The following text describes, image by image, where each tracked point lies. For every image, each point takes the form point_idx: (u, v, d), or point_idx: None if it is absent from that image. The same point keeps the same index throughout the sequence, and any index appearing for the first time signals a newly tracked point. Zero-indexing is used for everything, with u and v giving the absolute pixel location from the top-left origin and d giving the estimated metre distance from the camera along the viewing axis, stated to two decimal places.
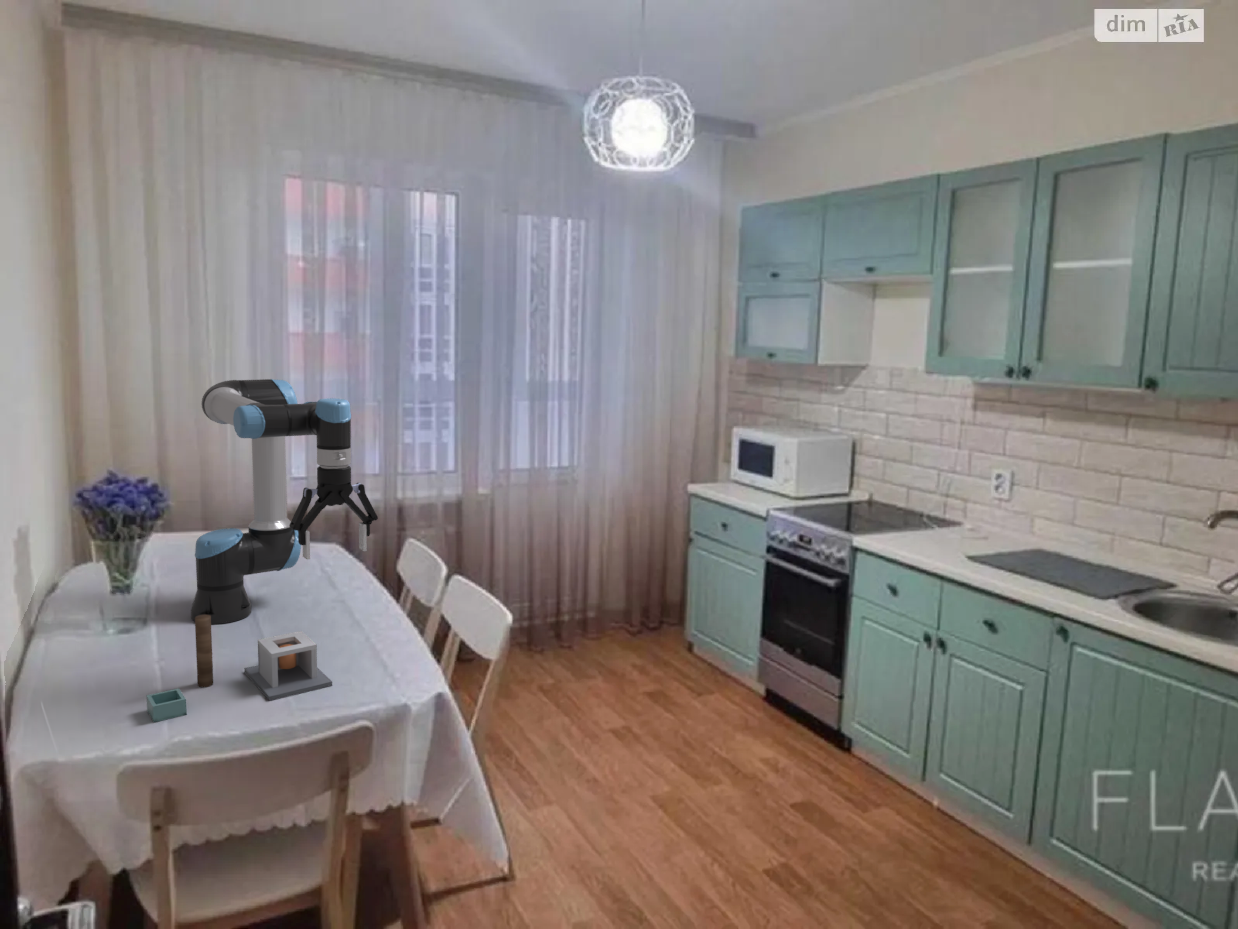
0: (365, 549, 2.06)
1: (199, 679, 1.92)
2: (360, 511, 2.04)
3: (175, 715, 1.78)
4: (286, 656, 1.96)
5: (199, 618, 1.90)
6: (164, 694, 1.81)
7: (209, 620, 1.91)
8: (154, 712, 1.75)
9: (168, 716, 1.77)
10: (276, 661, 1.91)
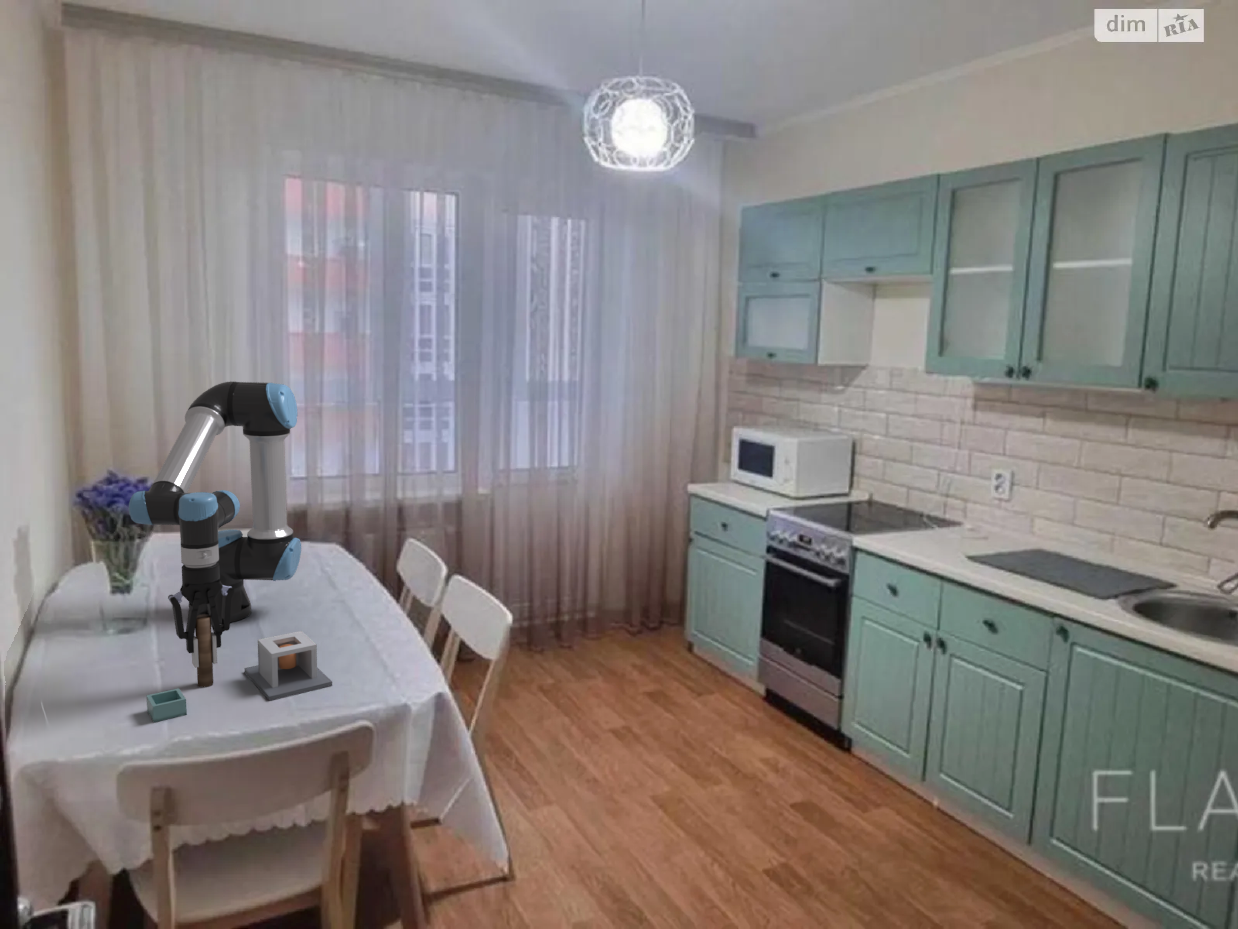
0: (215, 661, 1.93)
1: (199, 679, 1.92)
2: (216, 618, 1.92)
3: (175, 715, 1.78)
4: (286, 656, 1.96)
5: (199, 618, 1.90)
6: (164, 694, 1.81)
7: (209, 620, 1.91)
8: (154, 712, 1.75)
9: (168, 716, 1.77)
10: (276, 661, 1.91)
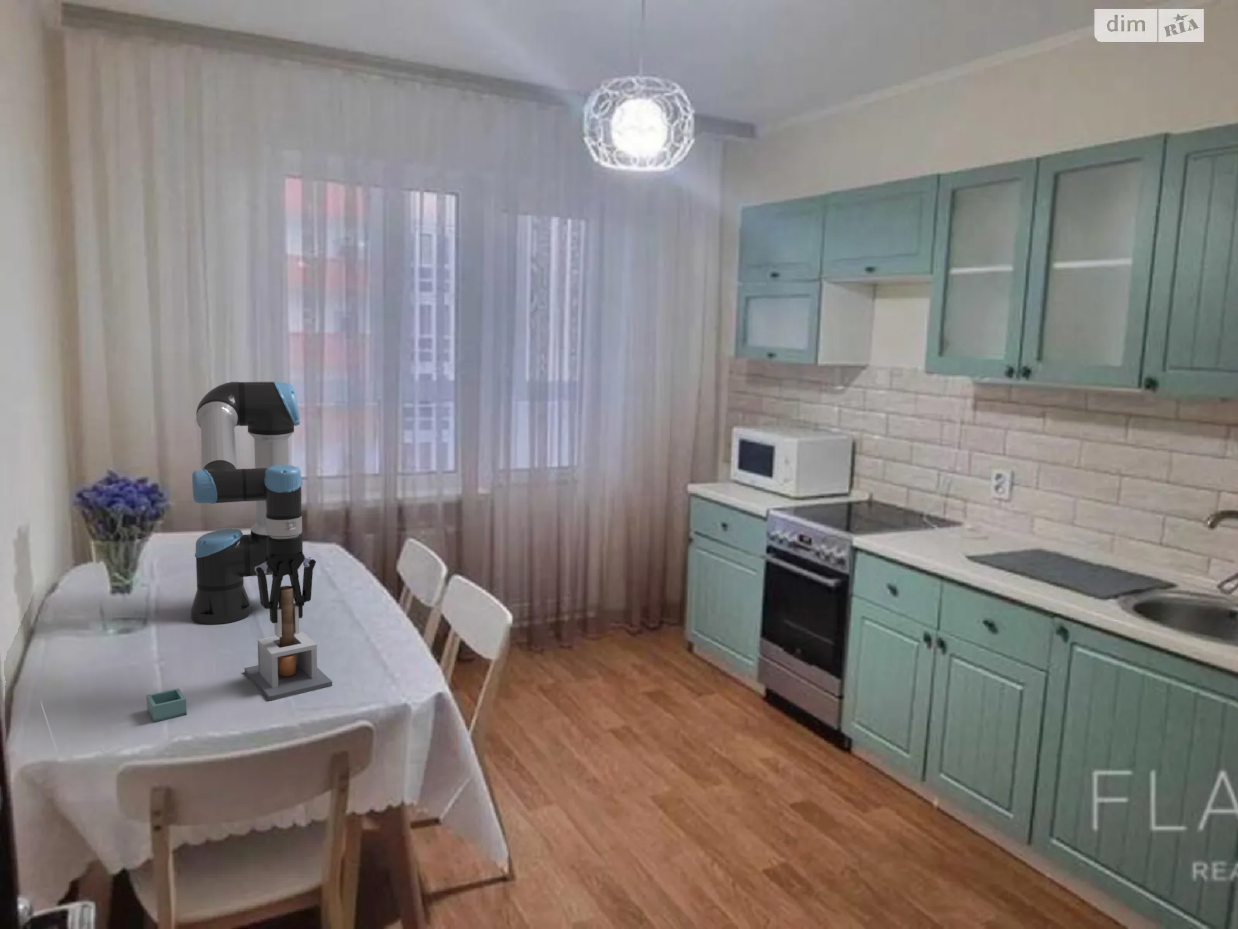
0: (297, 632, 1.97)
1: None
2: (299, 589, 1.95)
3: (175, 715, 1.78)
4: (286, 663, 1.96)
5: (283, 589, 1.94)
6: (164, 694, 1.81)
7: (292, 591, 1.94)
8: (154, 712, 1.75)
9: (168, 716, 1.77)
10: (276, 661, 1.91)
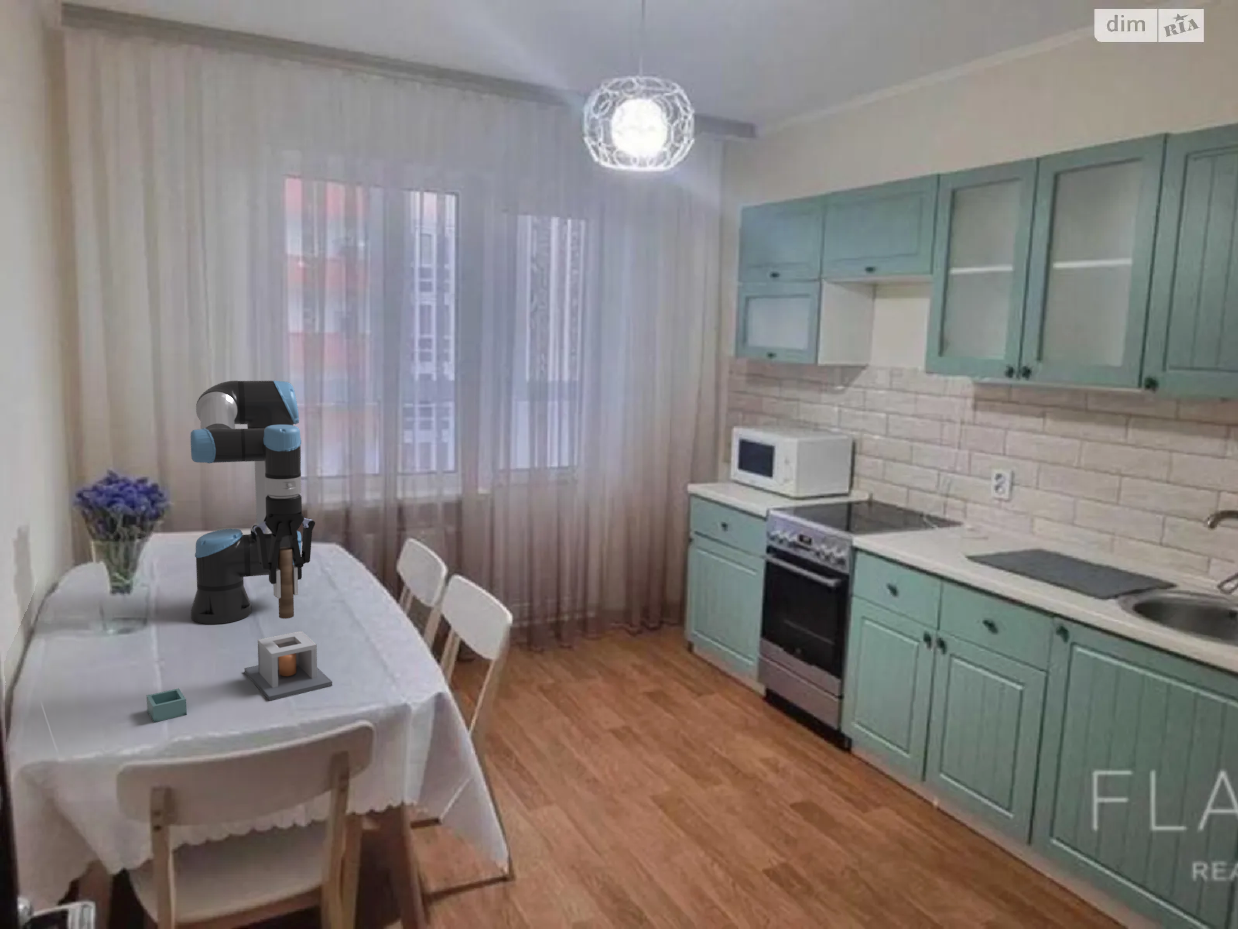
0: (296, 593, 1.95)
1: (281, 610, 1.94)
2: (298, 550, 1.94)
3: (175, 715, 1.78)
4: (286, 663, 1.96)
5: (282, 549, 1.92)
6: (164, 694, 1.81)
7: (291, 552, 1.93)
8: (154, 712, 1.75)
9: (168, 716, 1.77)
10: (276, 661, 1.91)
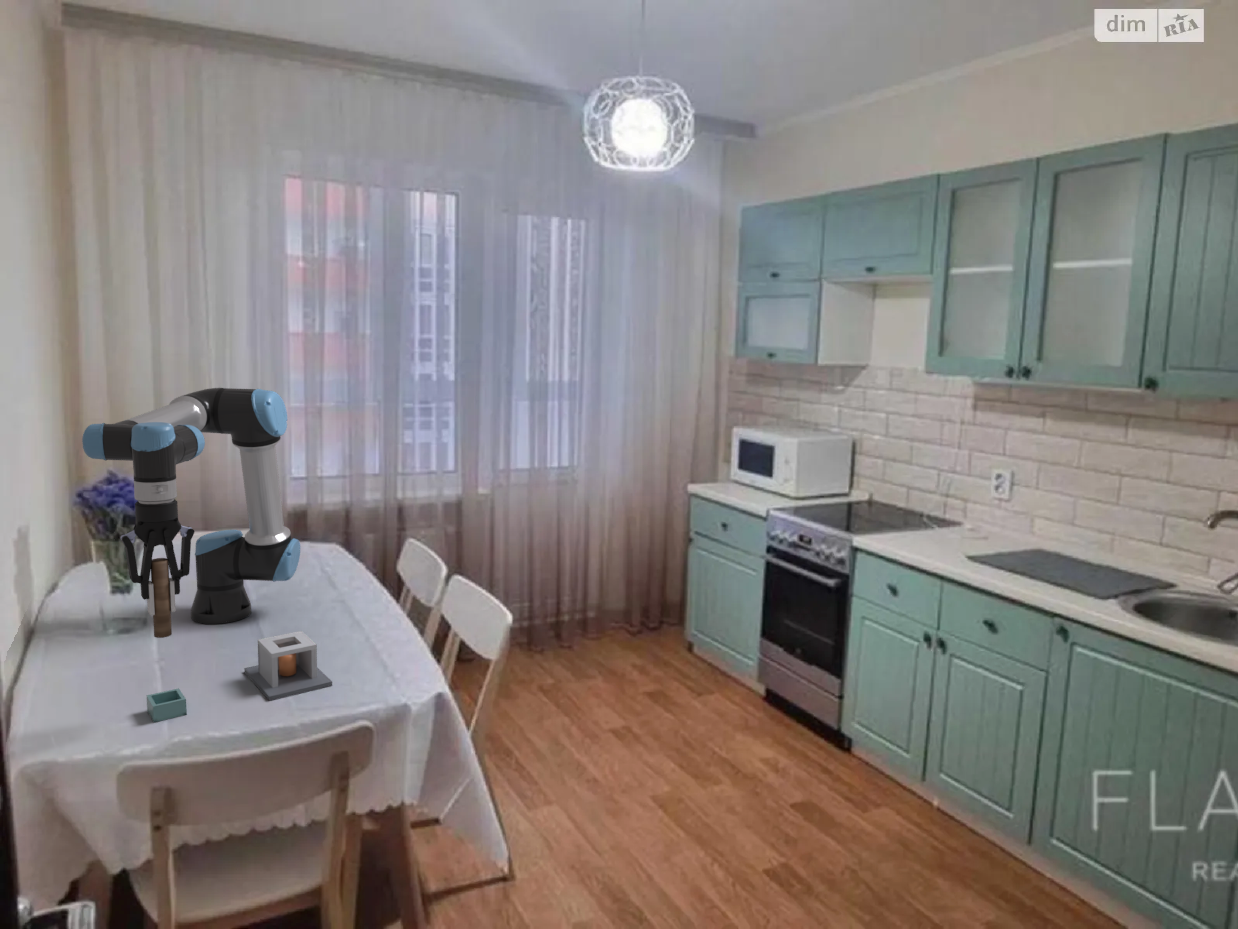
0: (174, 609, 1.76)
1: (155, 628, 1.75)
2: (174, 562, 1.75)
3: (175, 715, 1.78)
4: (286, 663, 1.96)
5: (155, 561, 1.73)
6: (164, 694, 1.81)
7: (166, 563, 1.74)
8: (154, 712, 1.75)
9: (168, 716, 1.77)
10: (276, 661, 1.91)
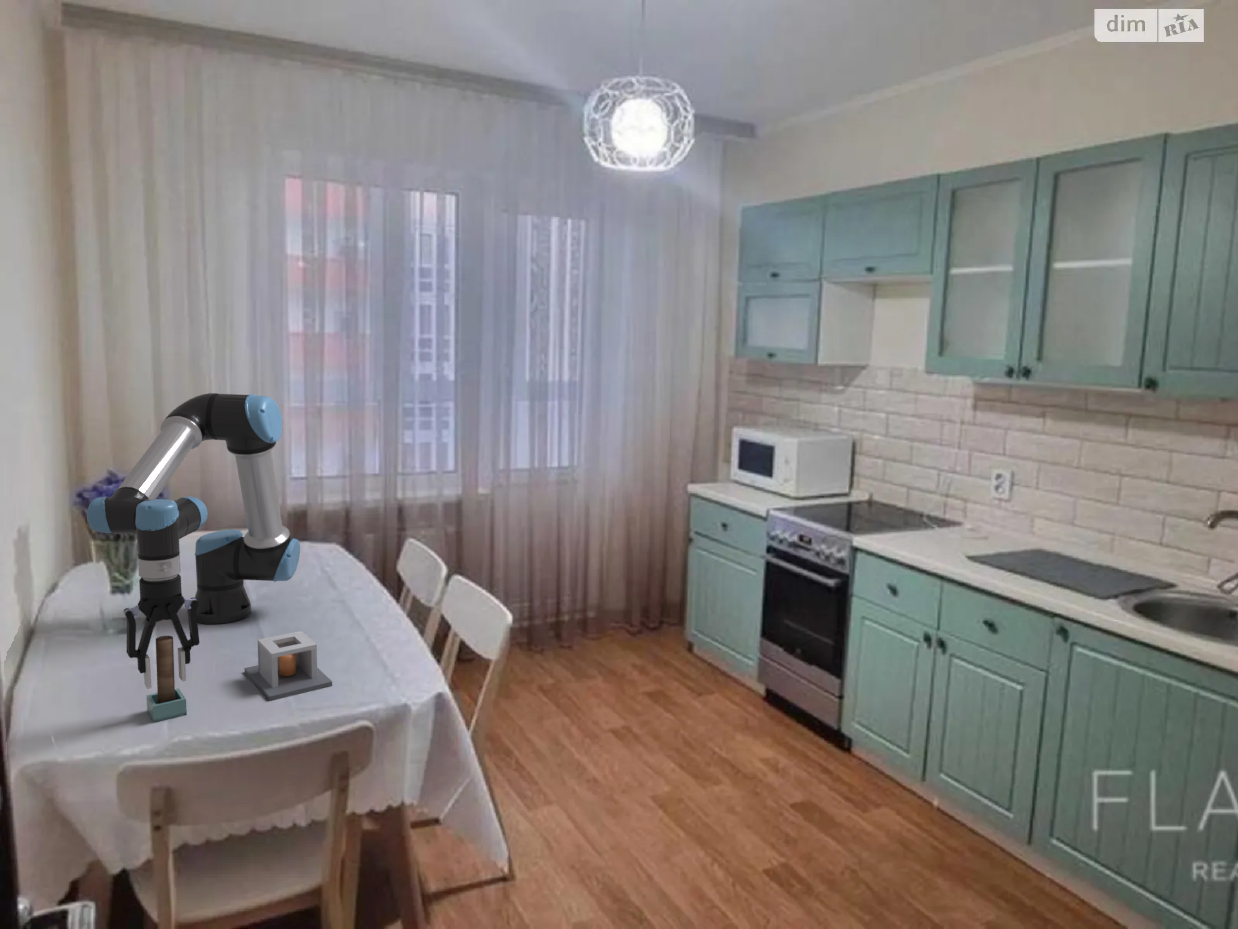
0: (184, 679, 1.80)
1: None
2: (182, 633, 1.78)
3: (175, 715, 1.78)
4: (286, 663, 1.96)
5: (160, 639, 1.76)
6: None
7: (171, 642, 1.77)
8: (154, 712, 1.75)
9: (168, 716, 1.77)
10: (276, 661, 1.91)
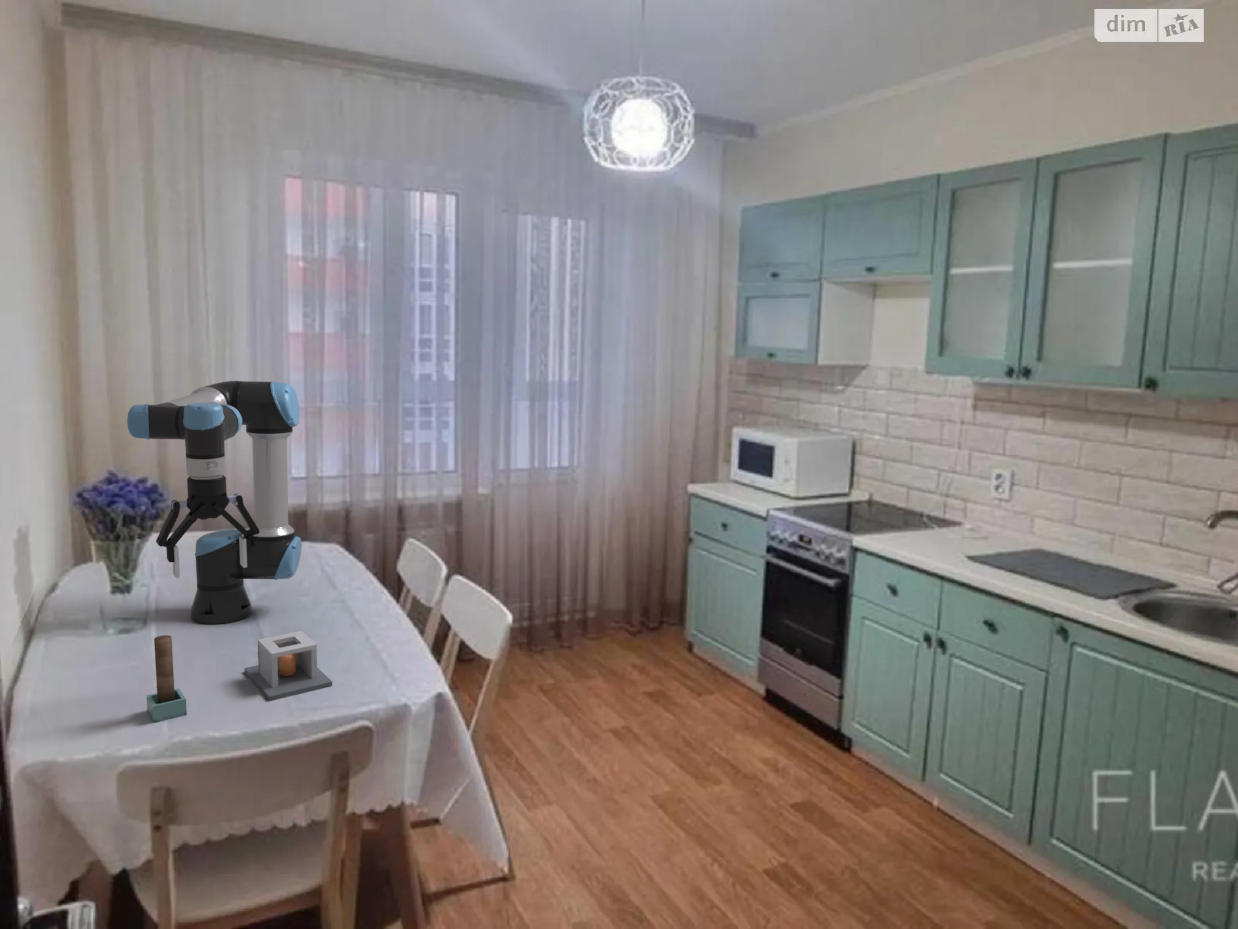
0: (245, 565, 1.90)
1: None
2: (238, 525, 1.88)
3: (175, 715, 1.78)
4: (286, 663, 1.96)
5: (159, 639, 1.76)
6: None
7: (170, 641, 1.77)
8: (154, 712, 1.75)
9: (168, 716, 1.77)
10: (276, 661, 1.91)
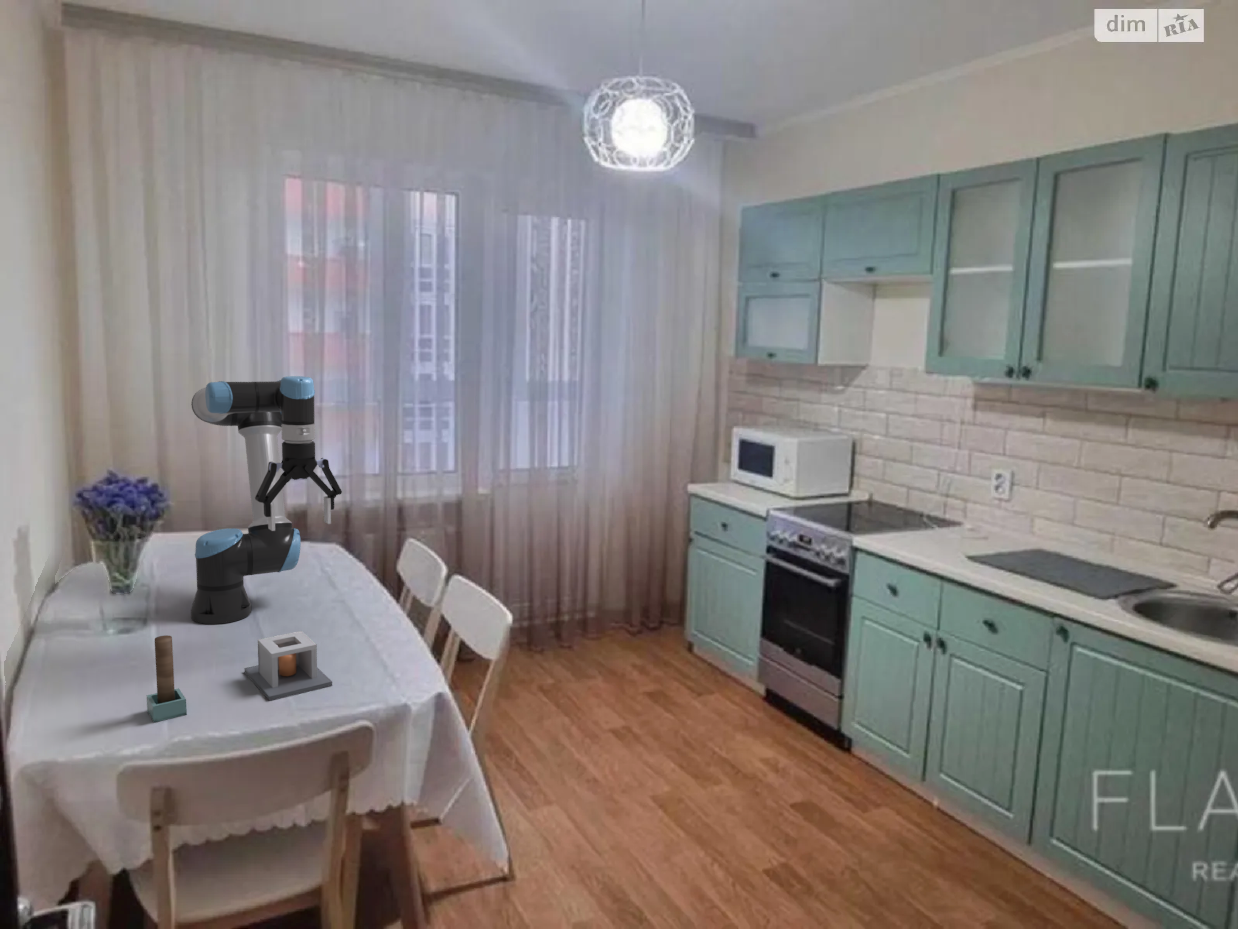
0: (329, 522, 2.14)
1: None
2: (324, 485, 2.12)
3: (175, 715, 1.78)
4: (286, 663, 1.96)
5: (159, 639, 1.76)
6: None
7: (170, 641, 1.77)
8: (154, 712, 1.75)
9: (168, 716, 1.77)
10: (276, 661, 1.91)
